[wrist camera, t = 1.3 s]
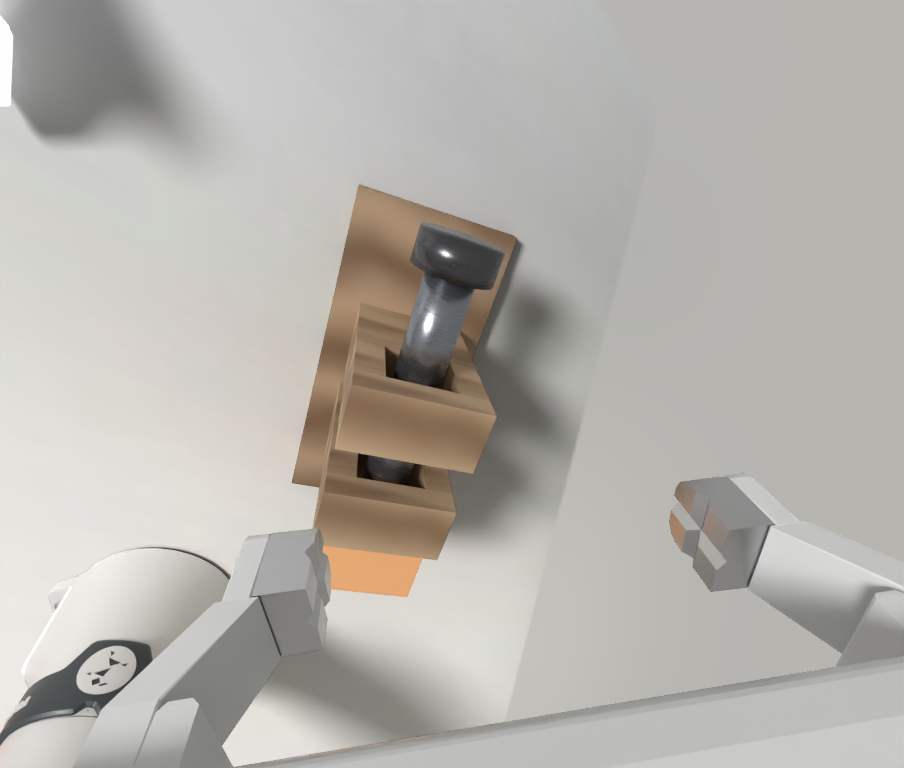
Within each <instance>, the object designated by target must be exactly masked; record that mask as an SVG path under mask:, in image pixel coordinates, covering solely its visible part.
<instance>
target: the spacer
mask: <svg viewBox="0 0 904 768" xmlns="http://www.w3.org/2000/svg"><path fill="white" fill-rule="evenodd" d="M323 553H324V554H326V555H327V556H328V559H329V563H330V570H331V589H334V590H344V591H354V592H363V593H373V594H383V595H393V596H402V597H407V596H408V594H409V591H410V589H411V586H412V584H413V581H414V579H415V576H416V574H417V571H418V569H419V566H420V564H421V561H422V559H423V558H416V557H408V556H400V555H392V554H384V553H376V552H368V551H360V550H352V549H344V548H337V547H329V546H323Z"/></svg>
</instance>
